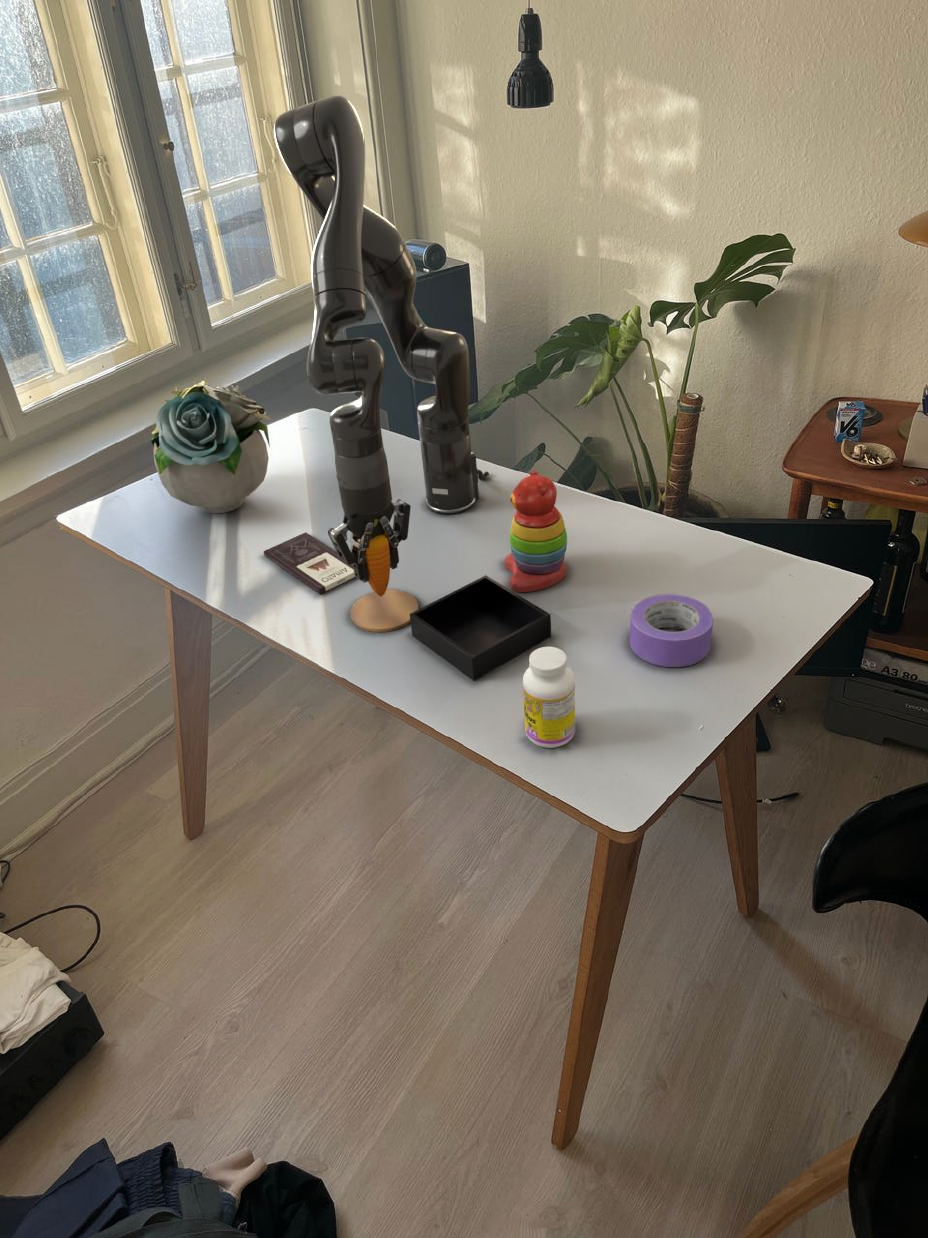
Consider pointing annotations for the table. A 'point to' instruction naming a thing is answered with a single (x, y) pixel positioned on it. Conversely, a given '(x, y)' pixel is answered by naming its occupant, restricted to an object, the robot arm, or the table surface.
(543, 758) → the table surface
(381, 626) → the disc
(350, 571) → the chocolate bar
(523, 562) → the stacking bear
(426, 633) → the tray
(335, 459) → the robot arm
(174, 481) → the flower arrangement
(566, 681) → the supplement bottle
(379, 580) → the carrot
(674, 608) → the tape roll
